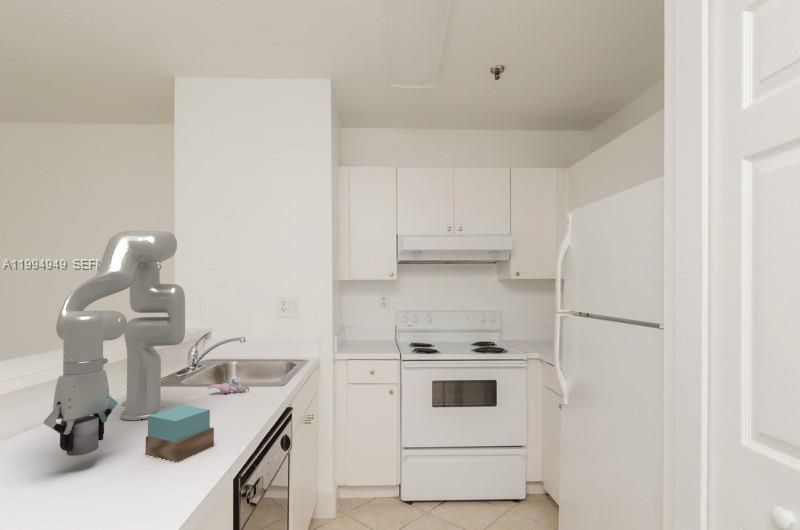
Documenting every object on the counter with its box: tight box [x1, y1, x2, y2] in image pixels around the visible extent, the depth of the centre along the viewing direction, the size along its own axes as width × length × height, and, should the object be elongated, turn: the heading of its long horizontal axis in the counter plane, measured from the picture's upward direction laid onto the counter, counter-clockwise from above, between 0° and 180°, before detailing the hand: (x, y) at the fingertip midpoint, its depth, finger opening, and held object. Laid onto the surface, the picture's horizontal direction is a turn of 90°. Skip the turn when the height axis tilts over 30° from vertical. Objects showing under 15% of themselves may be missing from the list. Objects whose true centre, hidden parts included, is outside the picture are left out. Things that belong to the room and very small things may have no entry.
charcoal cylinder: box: [65, 415, 100, 457], centre depth 99 cm, size 6×6×7 cm
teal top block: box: [147, 404, 211, 442], centre depth 108 cm, size 10×10×5 cm
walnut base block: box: [144, 426, 215, 464], centre depth 108 cm, size 11×11×5 cm
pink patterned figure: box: [207, 378, 250, 394], centre depth 164 cm, size 6×6×15 cm
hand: (82, 443), depth 99 cm, fingers closed on charcoal cylinder, 6 cm apart
